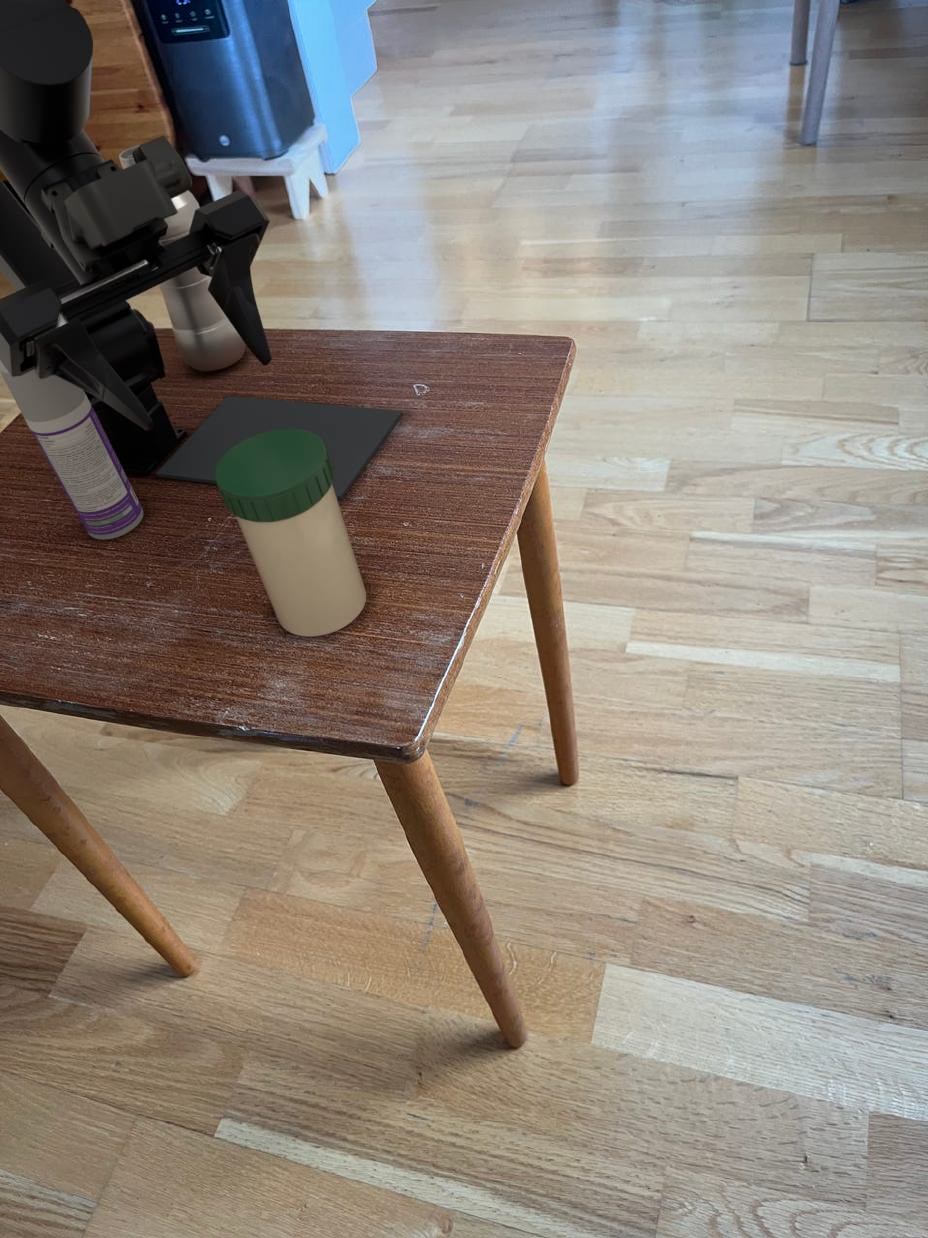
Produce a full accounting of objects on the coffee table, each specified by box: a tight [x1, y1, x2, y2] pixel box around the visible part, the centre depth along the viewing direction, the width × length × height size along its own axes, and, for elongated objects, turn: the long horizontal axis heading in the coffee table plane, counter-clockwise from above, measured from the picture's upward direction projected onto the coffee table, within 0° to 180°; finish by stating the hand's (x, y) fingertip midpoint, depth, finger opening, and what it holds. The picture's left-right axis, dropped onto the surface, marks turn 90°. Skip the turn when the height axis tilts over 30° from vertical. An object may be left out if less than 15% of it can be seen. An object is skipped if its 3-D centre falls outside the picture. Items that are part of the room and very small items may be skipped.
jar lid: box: [215, 429, 334, 522], centre depth 59 cm, size 7×7×2 cm
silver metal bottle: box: [118, 144, 247, 372], centre depth 87 cm, size 6×7×20 cm
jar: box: [234, 484, 367, 638], centre depth 62 cm, size 6×6×12 cm
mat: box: [155, 395, 404, 501], centre depth 82 cm, size 18×12×1 cm, turn 68°
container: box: [0, 361, 144, 540], centre depth 72 cm, size 5×5×15 cm
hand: (211, 394), depth 62 cm, fingers open, 9 cm apart
